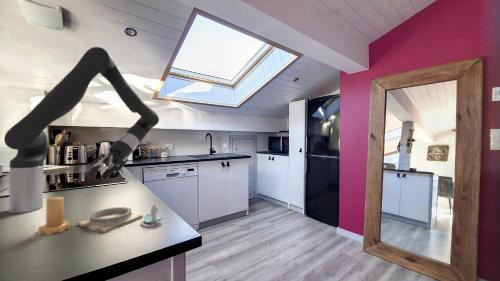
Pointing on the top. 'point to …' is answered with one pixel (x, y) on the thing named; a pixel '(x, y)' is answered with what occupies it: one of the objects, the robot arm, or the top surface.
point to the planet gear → (54, 217)
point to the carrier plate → (109, 227)
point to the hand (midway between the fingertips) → (95, 177)
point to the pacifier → (150, 220)
